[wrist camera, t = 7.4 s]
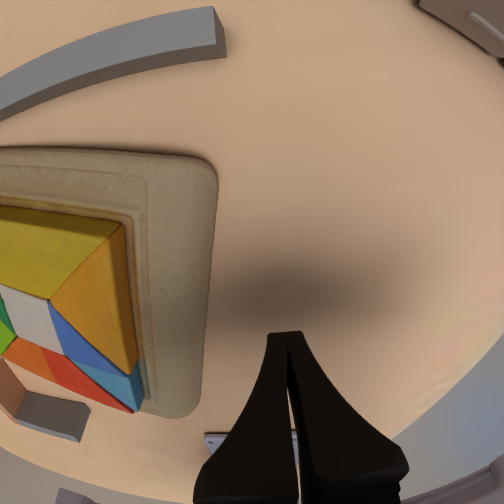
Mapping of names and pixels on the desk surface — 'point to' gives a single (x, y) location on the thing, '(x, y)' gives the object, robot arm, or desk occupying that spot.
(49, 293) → the wooden puzzle
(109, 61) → the bay
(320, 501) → the robot arm
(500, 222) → the desk surface
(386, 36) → the desk surface
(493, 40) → the grey and red box
